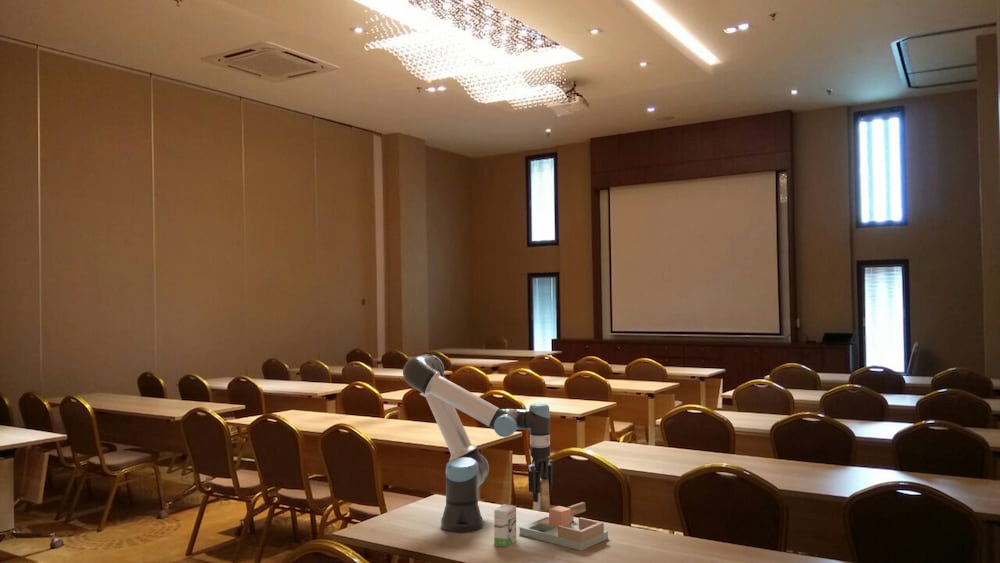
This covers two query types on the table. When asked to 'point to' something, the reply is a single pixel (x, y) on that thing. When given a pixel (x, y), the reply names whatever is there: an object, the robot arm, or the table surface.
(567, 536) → the grey sorting tray
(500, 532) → the ink box
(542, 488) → the crook
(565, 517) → the block
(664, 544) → the table surface
